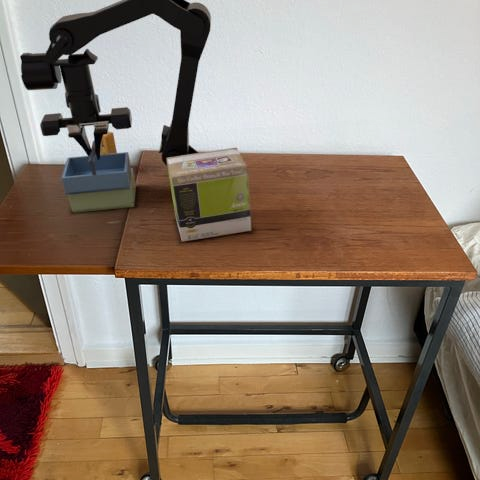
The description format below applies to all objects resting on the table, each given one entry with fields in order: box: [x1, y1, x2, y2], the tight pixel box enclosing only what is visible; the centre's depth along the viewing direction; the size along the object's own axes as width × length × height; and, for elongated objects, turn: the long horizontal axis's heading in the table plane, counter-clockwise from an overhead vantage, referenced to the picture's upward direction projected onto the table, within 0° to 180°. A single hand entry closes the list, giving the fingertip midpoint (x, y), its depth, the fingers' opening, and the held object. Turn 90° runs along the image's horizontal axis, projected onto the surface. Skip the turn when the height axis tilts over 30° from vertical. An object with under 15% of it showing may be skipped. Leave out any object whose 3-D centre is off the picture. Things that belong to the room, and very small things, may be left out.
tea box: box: [166, 147, 252, 243], centre depth 110 cm, size 15×10×15 cm
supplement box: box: [100, 131, 118, 155], centre depth 135 cm, size 3×3×10 cm
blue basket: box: [61, 140, 132, 196], centre depth 120 cm, size 14×11×7 cm
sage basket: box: [67, 167, 137, 214], centre depth 125 cm, size 14×11×4 cm
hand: (95, 159), depth 120 cm, fingers closed on blue basket
